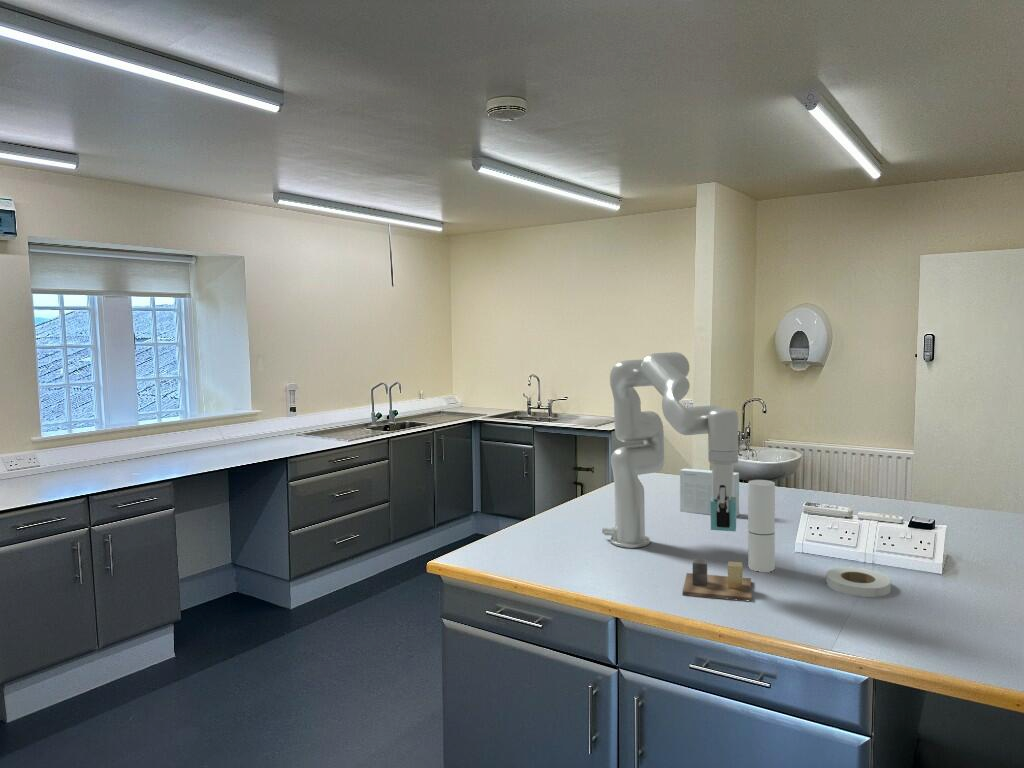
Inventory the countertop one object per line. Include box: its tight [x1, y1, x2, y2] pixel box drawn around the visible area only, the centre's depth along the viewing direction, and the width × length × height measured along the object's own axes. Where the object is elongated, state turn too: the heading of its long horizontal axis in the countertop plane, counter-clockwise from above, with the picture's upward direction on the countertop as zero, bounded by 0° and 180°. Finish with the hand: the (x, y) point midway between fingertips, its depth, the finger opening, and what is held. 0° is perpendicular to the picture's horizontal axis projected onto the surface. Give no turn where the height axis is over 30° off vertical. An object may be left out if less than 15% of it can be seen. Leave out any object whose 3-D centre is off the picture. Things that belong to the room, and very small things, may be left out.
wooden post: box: [727, 561, 743, 589], centre depth 184 cm, size 4×4×6 cm
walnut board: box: [682, 558, 752, 602], centre depth 186 cm, size 17×14×7 cm
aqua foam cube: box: [710, 497, 737, 532], centre depth 184 cm, size 6×6×8 cm
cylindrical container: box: [747, 479, 776, 573], centre depth 199 cm, size 7×7×25 cm
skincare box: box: [679, 468, 740, 518], centre depth 259 cm, size 21×5×16 cm, turn 58°
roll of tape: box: [825, 566, 892, 598], centre depth 185 cm, size 16×15×3 cm
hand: (723, 522), depth 184 cm, fingers closed on aqua foam cube, 6 cm apart
